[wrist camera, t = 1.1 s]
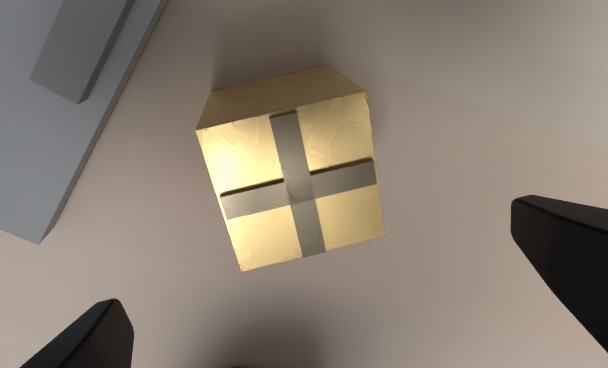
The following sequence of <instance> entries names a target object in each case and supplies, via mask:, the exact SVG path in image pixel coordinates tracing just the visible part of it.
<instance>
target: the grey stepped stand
mask: <svg viewBox="0 0 608 368" xmlns="http://www.w3.org/2000/svg"><path fill="white" fill-rule="evenodd" d="M167 2H168V0H0V230H3V231H5V232H8V233H10V234H13V235H15V236H18V237H20V238H23V239H25V240H28V241H30V242H33V243H35V244H38V245H39V244H40V243H41V241H42V240H43V239H44V238H45V237H46V236H47V235H48V233H49V232H50V231H51V230H52V229H53V228H54V226H55V224H56V222H57V220H58V218H59V216H60V214H61V212H62V210H63V208H64V206H65V204H66V202H67V200H68V198H69V196H70V194H71V192H72V190H73V188H74V186H75V184H76V182H77V180H78V178H79V176H80V174H81V172H82V170H83V169H84V167H85V165H86V163H87V161H88V159H89V157H90V155H91V153H92V151H93V149H94V147H95V145H96V143H97V141H98V139H99V137H100V135H101V133H102V131H103V129H104V127H105V125H106V123H107V121H108V119H109V117H110V115H111V113H112V111H113V109H114V107H115V105H116V103H117V101H118V99H119V97H120V95H121V93H122V91H123V89H124V87H125V85H126V83H127V81H128V79H129V77H130V75H131V73H132V71H133V69H134V67H135V65H136V63H137V62H138V60H139V58H140V56H141V54H142V52H143V50H144V48H145V46H146V44H147V42H148V40H149V38H150V36H151V34H152V32H153V30H154V28H155V26H156V24H157V22H158V20H159V18H160V16H161V14H162V12H163V10H164V8H165V6H166V4H167Z"/></svg>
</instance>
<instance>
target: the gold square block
mask: <svg viewBox="0 0 608 368" xmlns="http://www.w3.org/2000/svg"><path fill="white" fill-rule="evenodd" d="M196 133H197V136H198V139H199V142H200V146H201V149H202V152H203V155H204V158H205V161H206V164H207V167H208V170H209V173H210V176H211V179H212V182H213V186H214V189H215V192H216V195H217V198H218V201H219V204H220V207H221V210H222V213H223V216H224V219H225V222H226V226H227V229H228V232H229V235H230V238H231V241H232V244H233V247H234V250H235V253H236V256H237V259H238V262H239V266H240V269H241V272H242V271H246V270H250V269H254V268H259V267H263V266H267V265H271V264H275V263H279V262H283V261H287V260H291V259H295V258H299V257H307V256H311V255H315V254H319V253H323V252H326V251H327V250H331V249H335V248H339V247H343V246H347V245H351V244H355V243H359V242H363V241H367V240H371V239H375V238H379V237H383V236H385V228H384V221H383V213H382V206H381V198H380V191H379V183H378V176H377V168H376V161H375V153H374V146H373V138H372V131H371V123H370V116H369V108H368V101H367V93H366V91H365V90H364V89H362V88H361V87H360V86H358V85H357V84H355V83H354V82H352V81H351V80H349V79H348V78H346V77H345V76H343V75H342V74H340V73H339V72H337V71H336V70H334V69H333V68H331V67H330V66H328V65H324V66H320V67H315V68H311V69H307V70H302V71H298V72H293V73H289V74H285V75H280V76H276V77H272V78H267V79H263V80H258V81H254V82H250V83H245V84H241V85H237V86H232V87H228V88H223V89H219V90H215V91H211V93H210V95H209V98H208V100H207V103H206V106H205V108H204V111H203V113H202V116H201V118H200V121H199V123H198V126H197V128H196Z"/></svg>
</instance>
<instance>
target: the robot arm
mask: <svg viewBox="0 0 608 368" xmlns="http://www.w3.org/2000/svg"><path fill="white" fill-rule="evenodd" d="M511 234H512V237H513V239H514V241H515V242H516V244H517V245H518V246H519V248H520V249H521V250H522V252H523V253H524V255H525V256H526V257H527V259H528V260H529V261H530V263H531V264H532V265H533V267H534V268H535V269H536V271H537V272H538V273H539V275H540V276H541V278H542V279H543V280H544V282H545V283H546V284H547V286H548V287H549V288H550V289H551V291H552V292H553V293H554V294H555V295H556V297H557V298H558V299H559V300H560V301H561V302H562V303H563V304H564V306H565V307H566V308H567V309H568V310H569V311H570V312H571V313H572V314H573V315H574V316H575V318H576V319H577V320H578V321H579V322H580V323H581V324H582V325H583V326H584V327H585V329H586V330H587V331H588V332H589V333H590V334H591V335H592V336H593V337H594V338H595V339H596V341H597V342H598V343H599V344H600V345H601V346H602V347H603V348H604V349H605V350H606V352H607V353H608V209H603V208H598V207H593V206H588V205H583V204H578V203H572V202H567V201H562V200H557V199H552V198H546V197H541V196H536V195H527V196H523V197H519V198H516V199H514V200H513V201H512V204H511ZM133 342H134V330H133V326H132V324H131V322H130V320H129V318H128V316H127V314H126V312H125V310H124V308H123V306H122V304H121V302H120V301H119V300H118V299H115V298H113V299H109V300H105V301H101V302H98V303H96V304H95V305H93V306H92V307H91V308H90V309H89V310H87V311H86V312H85V313H84V314H83V315H81V316H80V317H79V318H78V319H77V320H76V321H74V322H73V323H72V324H71V325H70V326H68V327H67V328H66V329H65V330H64V331H62V332H61V333H60V334H59V335H58V336H57V337H55V338H54V339H53V340H52V341H51V342H49V343H48V344H47V345H46V346H45V347H43V348H42V349H41V350H40V351H39V352H38V353H36V354H35V355H34V356H33V357H32V358H30V359H29V360H28V361H27V362H26V363H24V364H23V365H22V366H21V367H20V368H131V360H132V351H133Z"/></svg>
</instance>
